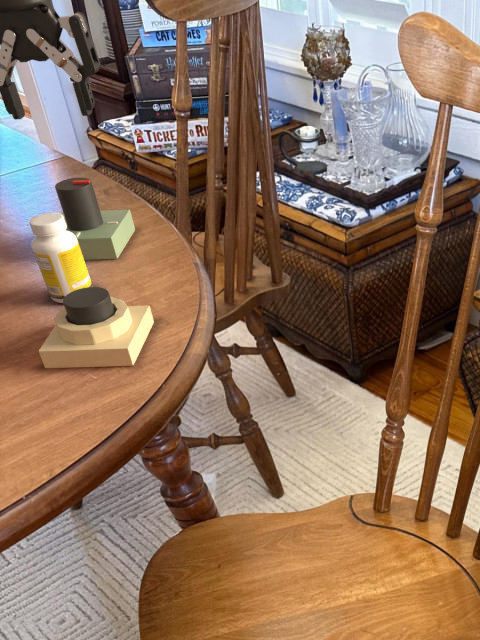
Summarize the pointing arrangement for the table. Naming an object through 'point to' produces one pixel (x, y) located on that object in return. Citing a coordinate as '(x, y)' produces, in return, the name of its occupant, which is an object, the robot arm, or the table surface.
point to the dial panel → (106, 235)
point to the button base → (98, 339)
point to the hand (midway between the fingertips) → (53, 116)
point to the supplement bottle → (58, 256)
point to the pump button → (88, 306)
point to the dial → (79, 203)
